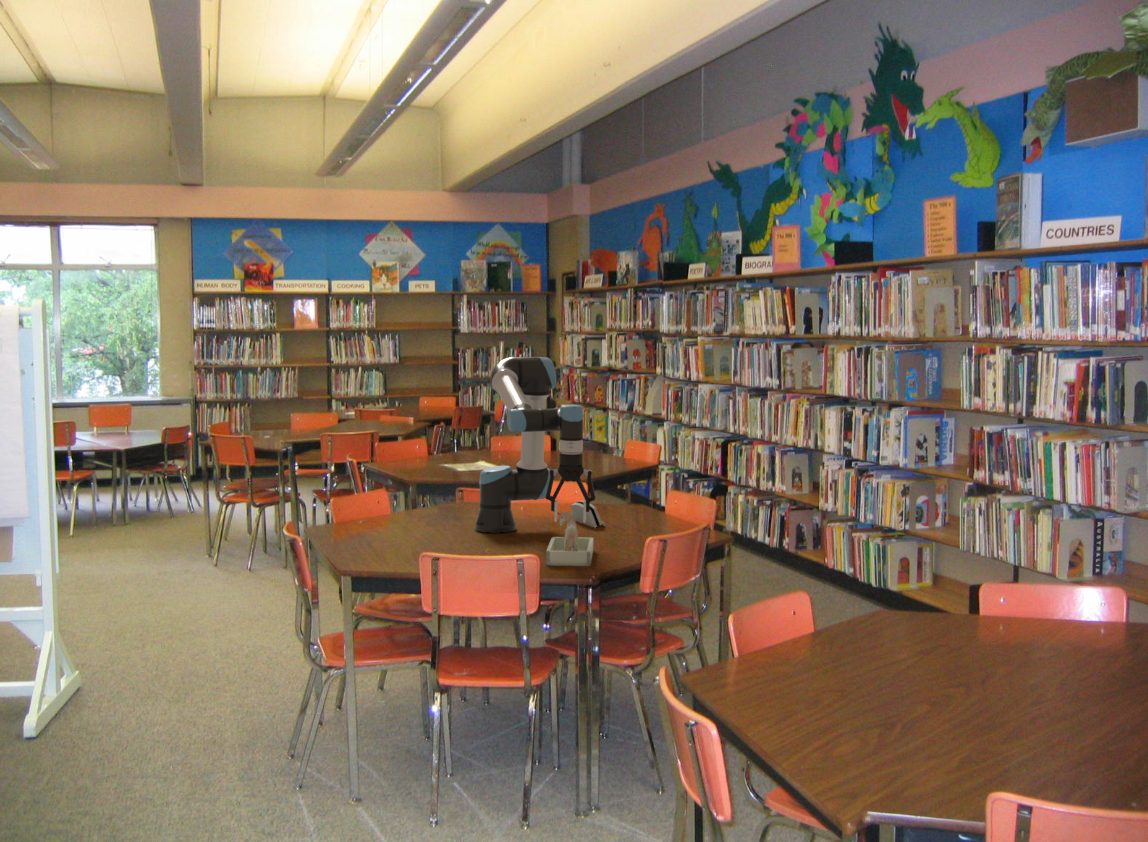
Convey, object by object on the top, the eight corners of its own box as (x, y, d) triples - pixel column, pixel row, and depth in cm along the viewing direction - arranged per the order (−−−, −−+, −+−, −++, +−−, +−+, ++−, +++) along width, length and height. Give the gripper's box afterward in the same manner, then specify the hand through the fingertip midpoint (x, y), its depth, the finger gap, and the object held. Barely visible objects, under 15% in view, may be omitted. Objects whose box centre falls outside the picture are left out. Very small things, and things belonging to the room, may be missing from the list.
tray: (546, 565, 307) (546, 551, 307) (551, 550, 329) (552, 536, 329) (590, 566, 306) (590, 552, 306) (593, 550, 328) (593, 537, 328)
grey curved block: (606, 526, 369) (598, 503, 367) (595, 532, 367) (588, 508, 365) (585, 519, 384) (577, 496, 382) (575, 524, 382) (567, 501, 380)
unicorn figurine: (571, 547, 329) (571, 508, 327) (588, 560, 310) (588, 519, 309) (550, 548, 326) (551, 509, 325) (566, 561, 308) (567, 520, 307)
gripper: (536, 453, 311) (536, 522, 314) (603, 455, 310) (602, 524, 313) (539, 450, 319) (538, 518, 321) (604, 451, 318) (603, 519, 320)
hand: (570, 521), depth 317 cm, fingers open, 9 cm apart
